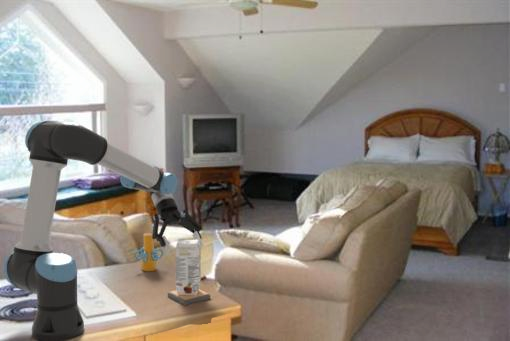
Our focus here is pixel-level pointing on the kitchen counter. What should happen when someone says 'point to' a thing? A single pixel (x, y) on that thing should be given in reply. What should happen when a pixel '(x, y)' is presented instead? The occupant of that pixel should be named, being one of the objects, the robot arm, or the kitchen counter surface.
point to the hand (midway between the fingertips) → (185, 250)
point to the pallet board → (189, 297)
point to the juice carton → (188, 267)
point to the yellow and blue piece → (148, 253)
